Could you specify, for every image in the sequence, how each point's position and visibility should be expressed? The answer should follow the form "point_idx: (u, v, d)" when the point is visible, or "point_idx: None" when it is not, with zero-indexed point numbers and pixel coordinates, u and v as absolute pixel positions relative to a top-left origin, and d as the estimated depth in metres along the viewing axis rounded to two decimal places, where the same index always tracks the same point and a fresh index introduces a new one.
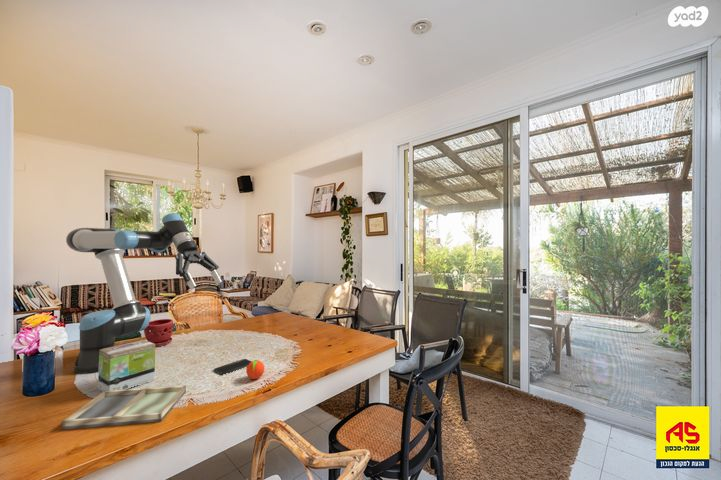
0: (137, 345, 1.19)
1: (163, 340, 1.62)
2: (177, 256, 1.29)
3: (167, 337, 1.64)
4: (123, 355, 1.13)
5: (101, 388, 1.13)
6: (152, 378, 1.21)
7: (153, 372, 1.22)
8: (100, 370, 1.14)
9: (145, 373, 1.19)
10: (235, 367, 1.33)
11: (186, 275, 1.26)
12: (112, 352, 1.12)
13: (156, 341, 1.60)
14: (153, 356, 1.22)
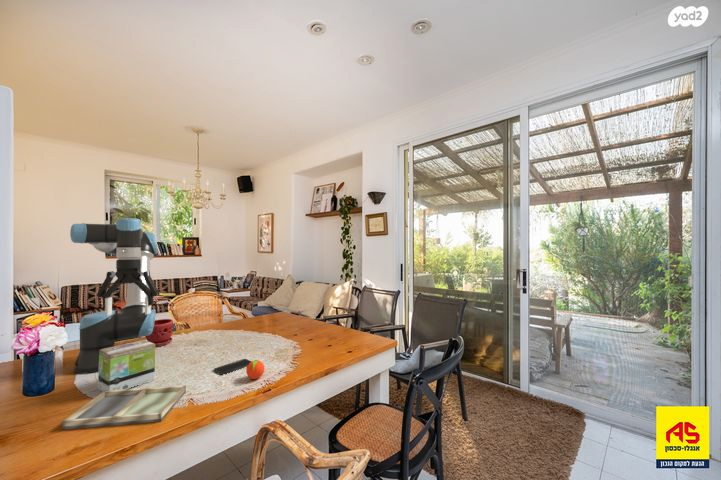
0: (137, 345, 1.19)
1: (163, 340, 1.62)
2: None
3: (167, 337, 1.64)
4: (123, 355, 1.13)
5: (101, 388, 1.13)
6: (152, 378, 1.21)
7: (153, 372, 1.22)
8: (100, 370, 1.14)
9: (145, 373, 1.19)
10: (235, 367, 1.33)
11: (104, 300, 1.17)
12: (112, 352, 1.12)
13: (156, 341, 1.60)
14: (153, 356, 1.22)
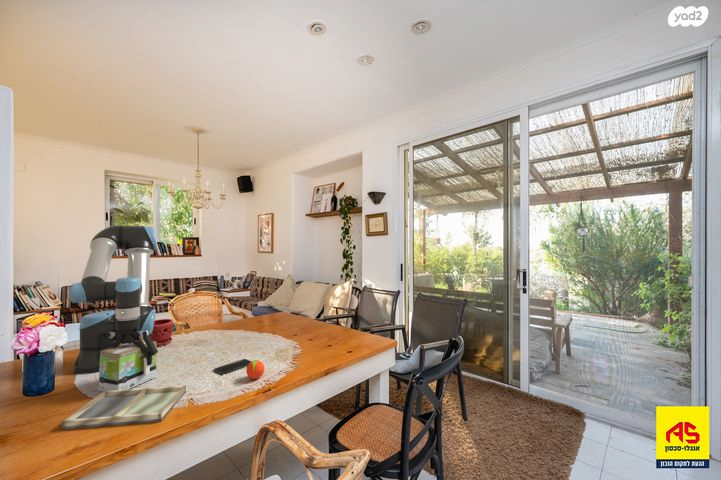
0: None
1: (163, 340, 1.62)
2: None
3: (167, 337, 1.64)
4: (130, 353, 1.14)
5: (104, 389, 1.12)
6: (154, 375, 1.24)
7: (155, 369, 1.24)
8: (102, 371, 1.12)
9: None
10: (235, 367, 1.33)
11: None
12: (119, 351, 1.12)
13: (156, 341, 1.60)
14: (155, 354, 1.24)
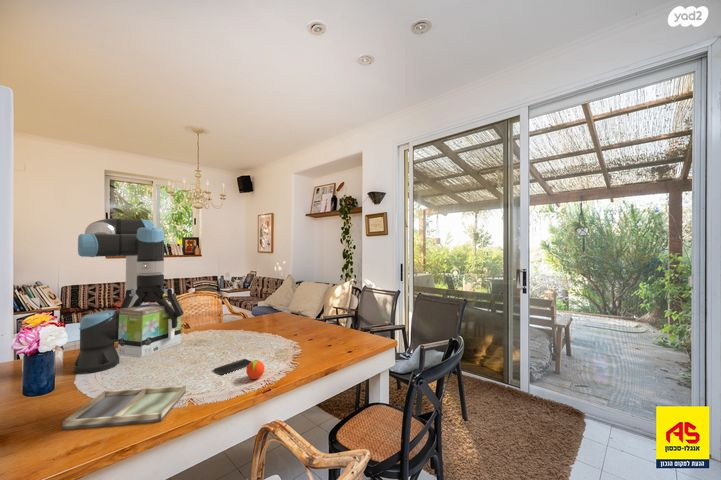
0: None
1: None
2: None
3: None
4: (154, 312, 0.99)
5: (125, 352, 0.97)
6: (179, 341, 1.09)
7: (180, 334, 1.09)
8: (122, 332, 0.97)
9: None
10: (235, 367, 1.33)
11: None
12: (142, 309, 0.97)
13: None
14: (180, 316, 1.09)
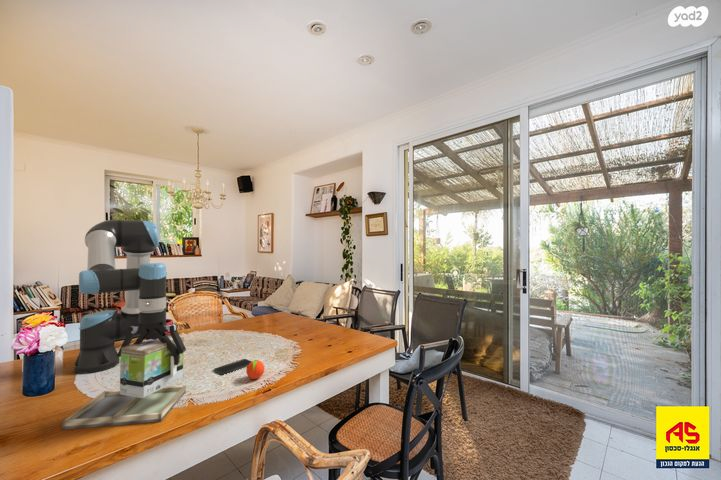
0: None
1: None
2: None
3: None
4: (156, 350, 0.98)
5: (127, 392, 0.96)
6: (181, 376, 1.08)
7: (182, 369, 1.08)
8: (124, 371, 0.96)
9: None
10: (235, 367, 1.33)
11: None
12: (144, 348, 0.96)
13: None
14: None
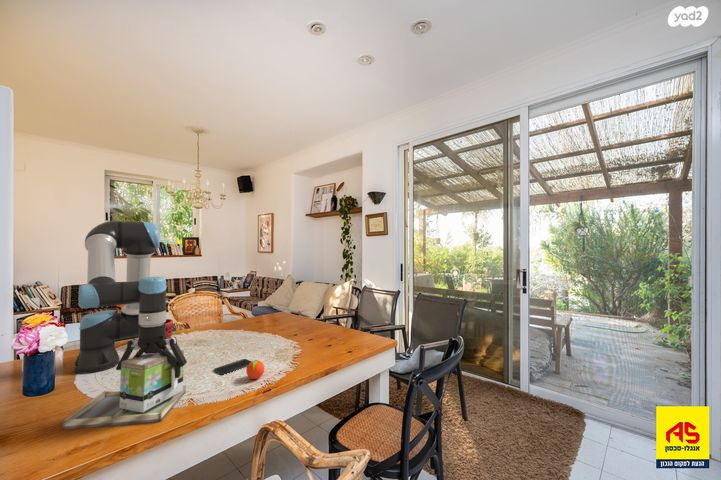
0: None
1: None
2: None
3: (167, 337, 1.64)
4: (156, 364, 0.98)
5: (127, 406, 0.96)
6: (181, 388, 1.08)
7: (182, 382, 1.08)
8: (124, 385, 0.96)
9: None
10: (235, 367, 1.33)
11: None
12: (144, 362, 0.96)
13: None
14: None
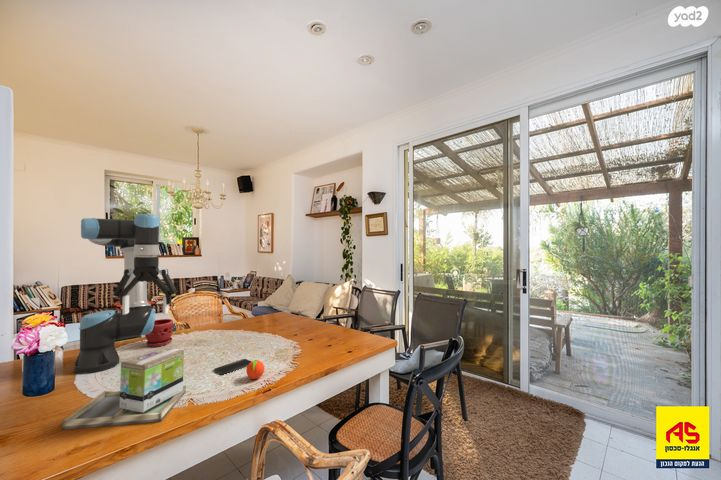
0: (165, 353, 1.04)
1: (163, 340, 1.62)
2: None
3: (167, 337, 1.64)
4: (156, 364, 0.98)
5: (127, 406, 0.96)
6: (181, 388, 1.08)
7: (182, 382, 1.08)
8: (124, 385, 0.96)
9: (175, 383, 1.05)
10: (235, 367, 1.33)
11: (121, 299, 1.13)
12: (144, 362, 0.96)
13: (156, 341, 1.60)
14: (182, 364, 1.08)
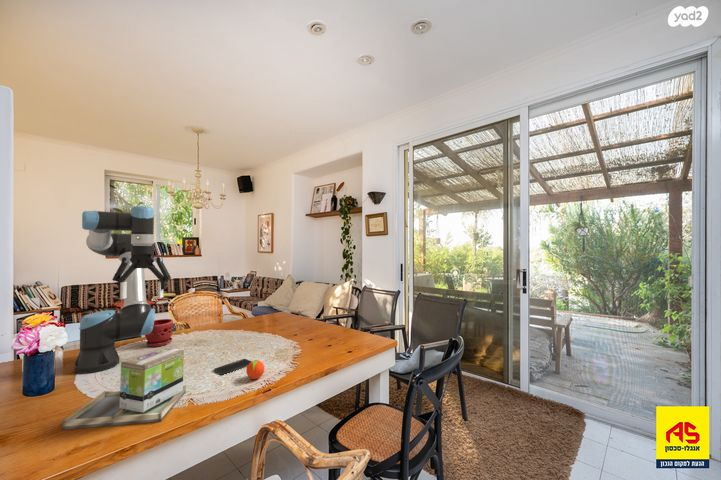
0: (165, 353, 1.04)
1: (163, 340, 1.62)
2: None
3: (167, 337, 1.64)
4: (156, 364, 0.98)
5: (127, 406, 0.96)
6: (181, 388, 1.08)
7: (182, 382, 1.08)
8: (124, 385, 0.96)
9: (175, 383, 1.05)
10: (235, 367, 1.33)
11: (119, 284, 1.23)
12: (144, 362, 0.96)
13: (156, 341, 1.60)
14: (182, 364, 1.08)
